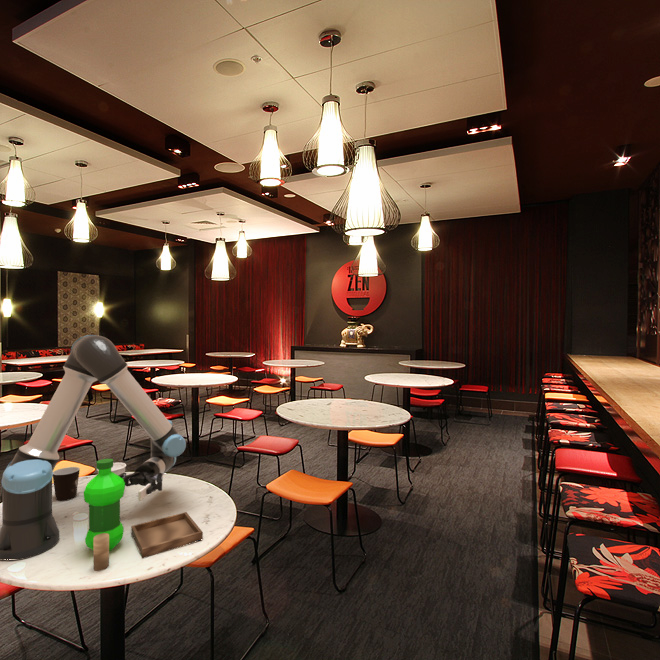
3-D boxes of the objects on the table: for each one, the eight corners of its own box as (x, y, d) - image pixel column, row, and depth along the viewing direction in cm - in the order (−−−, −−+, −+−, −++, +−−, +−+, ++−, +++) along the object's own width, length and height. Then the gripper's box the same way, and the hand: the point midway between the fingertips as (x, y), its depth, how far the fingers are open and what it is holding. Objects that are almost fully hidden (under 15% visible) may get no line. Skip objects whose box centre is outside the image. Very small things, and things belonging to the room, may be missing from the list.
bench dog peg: (94, 572, 105) (94, 541, 105) (92, 565, 108) (92, 535, 108) (109, 567, 107) (109, 537, 107) (108, 561, 110) (108, 531, 110)
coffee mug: (66, 503, 148) (66, 475, 148) (46, 501, 150) (46, 474, 150) (91, 490, 159) (91, 465, 159) (72, 489, 161) (72, 463, 161)
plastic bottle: (94, 540, 122) (94, 456, 122) (131, 538, 123) (131, 455, 123) (76, 558, 112) (76, 467, 112) (116, 557, 113) (116, 466, 113)
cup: (118, 488, 162) (118, 460, 162) (131, 494, 156) (131, 465, 156) (91, 496, 154) (91, 467, 154) (104, 503, 148) (104, 473, 148)
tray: (142, 558, 112) (142, 549, 112) (131, 533, 126) (131, 525, 126) (202, 540, 122) (202, 531, 122) (186, 519, 135) (186, 511, 135)
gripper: (185, 482, 143) (158, 508, 122) (114, 482, 144) (75, 508, 122) (185, 461, 143) (158, 483, 122) (114, 460, 144) (75, 483, 122)
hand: (117, 496), depth 122 cm, fingers open, 13 cm apart
